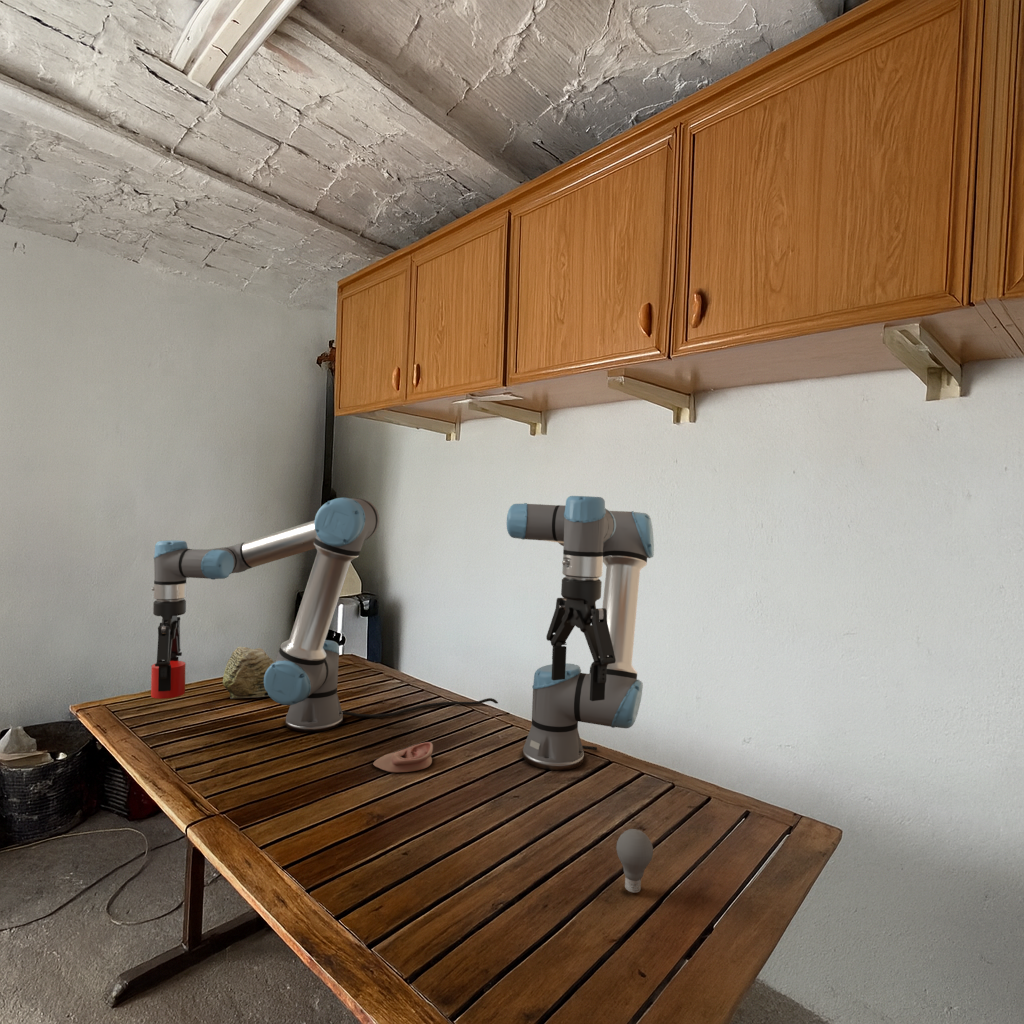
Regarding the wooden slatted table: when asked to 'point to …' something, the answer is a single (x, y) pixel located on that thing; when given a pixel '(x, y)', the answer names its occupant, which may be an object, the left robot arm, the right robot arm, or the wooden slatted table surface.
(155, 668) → the canister
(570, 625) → the right robot arm
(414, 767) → the anatomical model
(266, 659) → the fossil
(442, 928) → the wooden slatted table surface
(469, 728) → the wooden slatted table surface
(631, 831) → the light bulb
